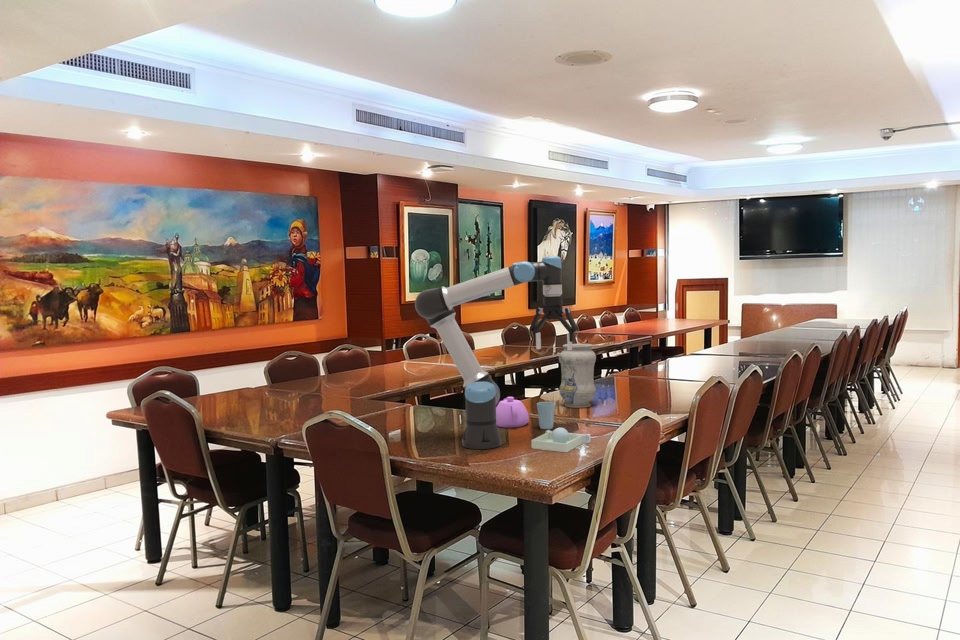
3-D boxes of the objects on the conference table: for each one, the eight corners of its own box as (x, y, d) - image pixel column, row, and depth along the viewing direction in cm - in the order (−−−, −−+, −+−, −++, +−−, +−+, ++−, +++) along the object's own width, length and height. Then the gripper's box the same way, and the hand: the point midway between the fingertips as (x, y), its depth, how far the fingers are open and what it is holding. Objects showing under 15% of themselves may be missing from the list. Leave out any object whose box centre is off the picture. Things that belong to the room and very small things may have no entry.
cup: (553, 425, 294) (553, 401, 294) (557, 429, 287) (556, 404, 286) (536, 426, 294) (535, 402, 293) (539, 430, 286) (538, 405, 285)
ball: (546, 441, 258) (552, 426, 256) (553, 437, 263) (560, 422, 261) (560, 450, 255) (567, 435, 253) (567, 446, 260) (574, 431, 259)
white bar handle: (545, 438, 271) (545, 431, 271) (548, 437, 273) (547, 429, 273) (588, 443, 262) (588, 435, 262) (590, 441, 264) (590, 434, 264)
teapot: (534, 428, 290) (533, 400, 289) (498, 431, 287) (497, 402, 286) (522, 418, 311) (522, 391, 310) (488, 420, 309) (487, 393, 308)
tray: (531, 448, 257) (531, 440, 257) (548, 440, 269) (547, 432, 269) (566, 452, 249) (566, 444, 249) (582, 443, 262) (581, 435, 261)
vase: (577, 400, 349) (575, 341, 347) (604, 405, 335) (603, 343, 333) (552, 405, 338) (550, 344, 336) (579, 410, 324) (578, 347, 322)
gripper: (520, 296, 274) (521, 349, 276) (578, 295, 261) (579, 351, 263) (528, 295, 281) (530, 347, 282) (585, 294, 268) (587, 349, 269)
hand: (553, 349), depth 272 cm, fingers open, 13 cm apart
